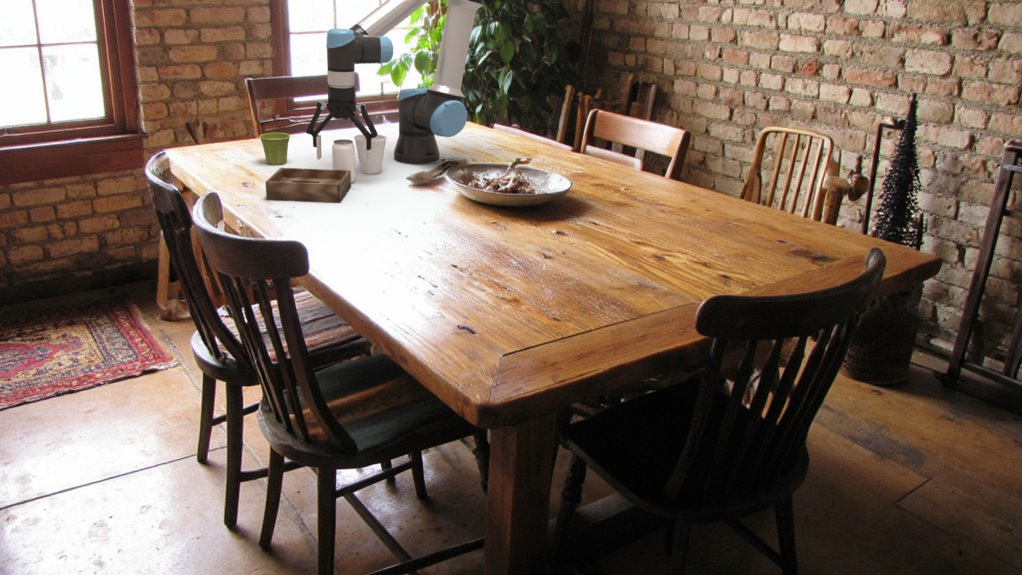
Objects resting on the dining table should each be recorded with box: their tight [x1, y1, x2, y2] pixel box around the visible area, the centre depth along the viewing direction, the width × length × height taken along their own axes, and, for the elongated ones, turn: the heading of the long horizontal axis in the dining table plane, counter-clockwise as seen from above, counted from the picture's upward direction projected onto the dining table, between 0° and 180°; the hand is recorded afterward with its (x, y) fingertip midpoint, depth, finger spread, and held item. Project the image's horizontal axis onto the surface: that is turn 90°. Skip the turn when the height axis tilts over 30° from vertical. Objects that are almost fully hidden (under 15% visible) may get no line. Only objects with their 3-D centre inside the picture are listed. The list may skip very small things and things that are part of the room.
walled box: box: [265, 167, 352, 204], centre depth 236 cm, size 20×16×5 cm
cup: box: [353, 133, 388, 176], centre depth 259 cm, size 10×10×11 cm
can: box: [331, 139, 356, 184], centre depth 247 cm, size 6×6×12 cm
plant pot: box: [258, 132, 291, 166], centre depth 265 cm, size 9×9×9 cm
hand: (342, 159), depth 247 cm, fingers open, 13 cm apart
